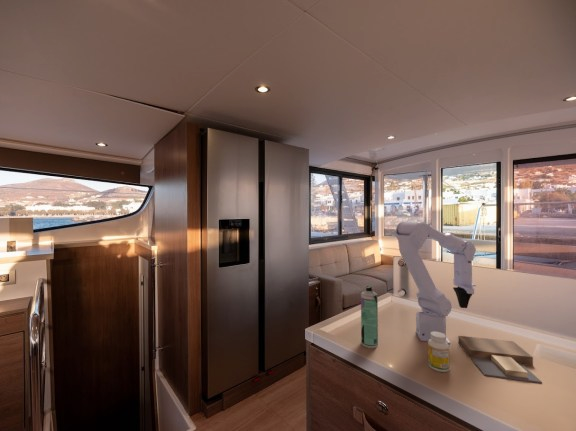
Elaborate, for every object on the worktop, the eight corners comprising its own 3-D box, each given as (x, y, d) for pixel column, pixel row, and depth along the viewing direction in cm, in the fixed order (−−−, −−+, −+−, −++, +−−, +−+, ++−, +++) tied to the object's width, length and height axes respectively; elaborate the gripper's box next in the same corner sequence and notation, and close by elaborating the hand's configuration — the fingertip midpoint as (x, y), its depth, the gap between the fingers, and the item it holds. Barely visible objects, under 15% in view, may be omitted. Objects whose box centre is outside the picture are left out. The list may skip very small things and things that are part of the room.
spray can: (378, 342, 90) (378, 285, 90) (377, 349, 85) (376, 289, 85) (362, 339, 92) (362, 283, 93) (360, 346, 87) (359, 287, 88)
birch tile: (505, 375, 70) (505, 369, 70) (491, 359, 78) (491, 354, 78) (527, 378, 69) (527, 372, 69) (510, 361, 77) (510, 356, 77)
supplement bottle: (447, 375, 71) (447, 340, 71) (426, 368, 75) (425, 335, 75) (450, 366, 75) (450, 333, 75) (430, 360, 79) (430, 328, 79)
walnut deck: (470, 357, 80) (470, 349, 80) (458, 342, 89) (458, 335, 89) (532, 365, 76) (532, 357, 76) (513, 348, 85) (513, 341, 85)
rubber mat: (484, 375, 71) (484, 374, 71) (470, 358, 80) (470, 357, 80) (541, 383, 67) (541, 381, 67) (521, 364, 76) (521, 363, 76)
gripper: (483, 276, 90) (484, 315, 90) (467, 268, 104) (467, 302, 104) (461, 275, 92) (461, 313, 92) (447, 267, 106) (447, 300, 106)
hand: (463, 307), depth 98 cm, fingers closed
